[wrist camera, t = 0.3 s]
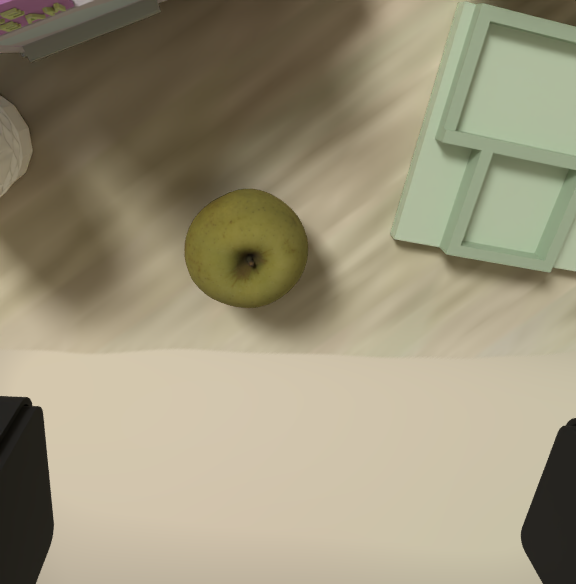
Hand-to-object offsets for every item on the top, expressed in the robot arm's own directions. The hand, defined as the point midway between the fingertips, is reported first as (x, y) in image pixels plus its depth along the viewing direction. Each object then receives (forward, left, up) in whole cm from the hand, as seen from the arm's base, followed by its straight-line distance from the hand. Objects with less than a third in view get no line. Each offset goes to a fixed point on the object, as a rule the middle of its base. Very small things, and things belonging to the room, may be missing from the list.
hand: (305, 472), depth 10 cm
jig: (-4, +18, -30) cm, 35 cm away
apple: (+5, 0, -30) cm, 31 cm away
